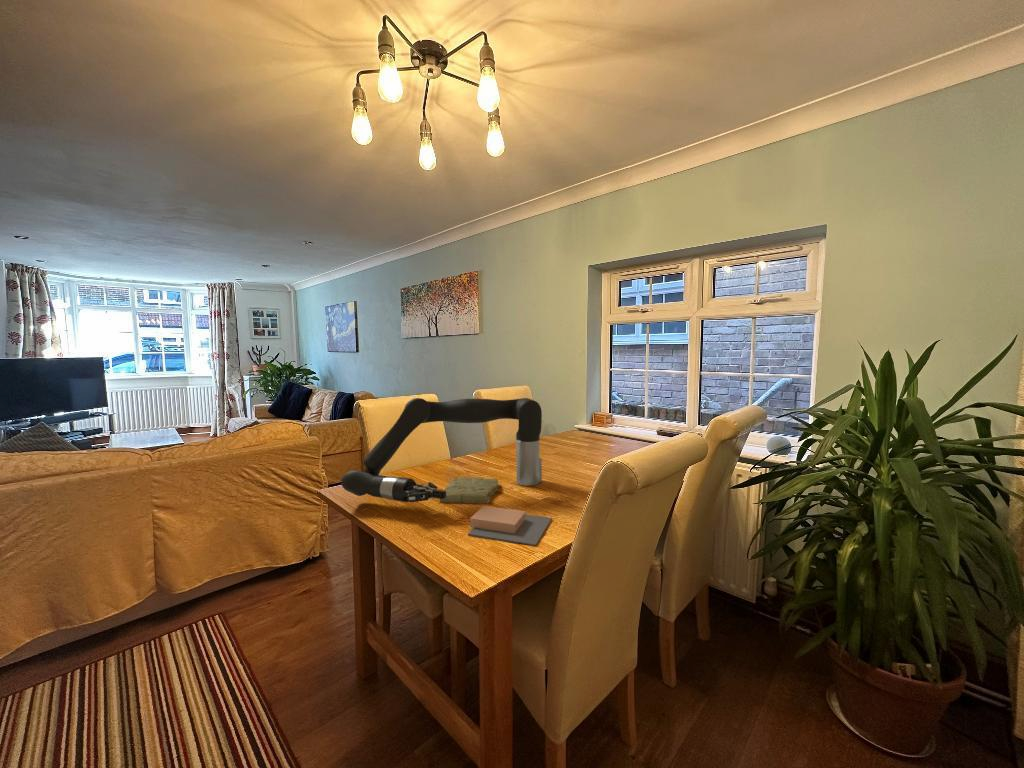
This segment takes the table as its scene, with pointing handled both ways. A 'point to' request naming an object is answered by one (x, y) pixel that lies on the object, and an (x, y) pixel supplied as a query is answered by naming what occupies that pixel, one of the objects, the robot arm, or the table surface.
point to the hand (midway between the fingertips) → (445, 495)
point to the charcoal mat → (518, 531)
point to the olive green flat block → (470, 490)
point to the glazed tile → (498, 519)
